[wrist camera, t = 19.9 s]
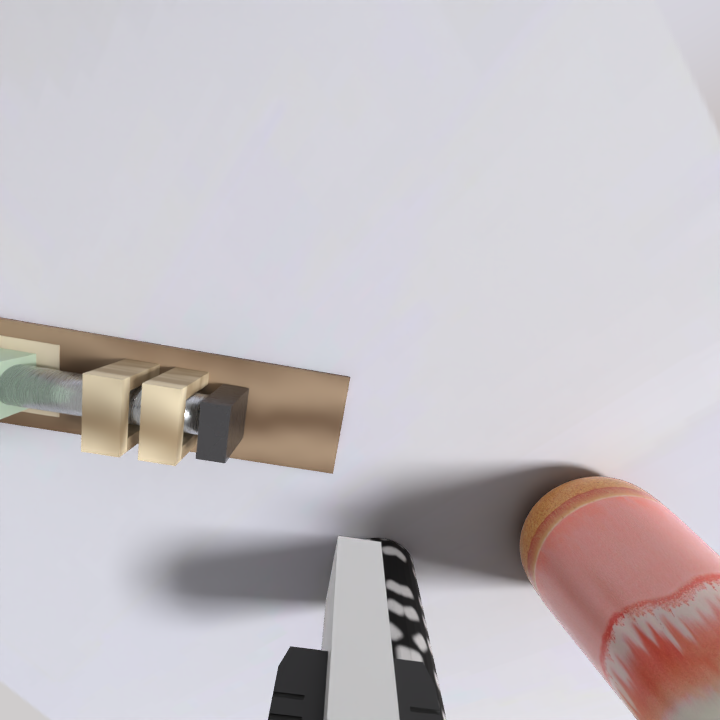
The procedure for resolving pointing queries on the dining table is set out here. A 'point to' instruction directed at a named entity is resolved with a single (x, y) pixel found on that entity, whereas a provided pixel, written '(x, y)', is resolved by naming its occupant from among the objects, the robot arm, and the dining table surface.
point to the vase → (630, 593)
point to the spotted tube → (406, 611)
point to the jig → (181, 398)
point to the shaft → (134, 406)
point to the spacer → (7, 358)
